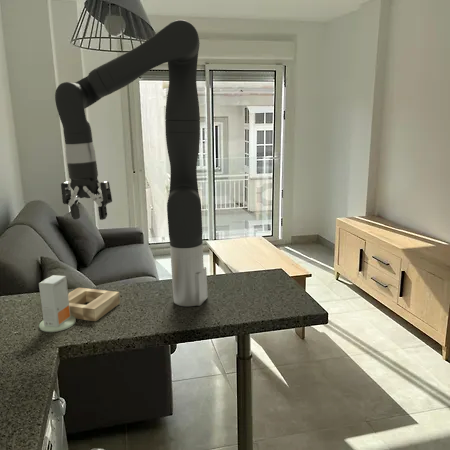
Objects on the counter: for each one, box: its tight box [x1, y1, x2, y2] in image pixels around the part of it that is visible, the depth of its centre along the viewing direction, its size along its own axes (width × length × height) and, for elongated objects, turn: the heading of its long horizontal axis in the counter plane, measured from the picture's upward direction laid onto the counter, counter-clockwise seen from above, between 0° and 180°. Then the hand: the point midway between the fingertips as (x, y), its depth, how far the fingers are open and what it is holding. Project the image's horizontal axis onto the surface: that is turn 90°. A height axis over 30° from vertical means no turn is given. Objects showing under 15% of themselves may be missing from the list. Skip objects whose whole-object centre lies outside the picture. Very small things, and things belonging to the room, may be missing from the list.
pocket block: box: [68, 287, 121, 322], centre depth 124 cm, size 14×12×4 cm
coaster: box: [38, 316, 76, 333], centre depth 116 cm, size 9×9×1 cm
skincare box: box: [38, 274, 71, 327], centre depth 115 cm, size 6×4×12 cm
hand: (89, 219), depth 122 cm, fingers open, 8 cm apart
